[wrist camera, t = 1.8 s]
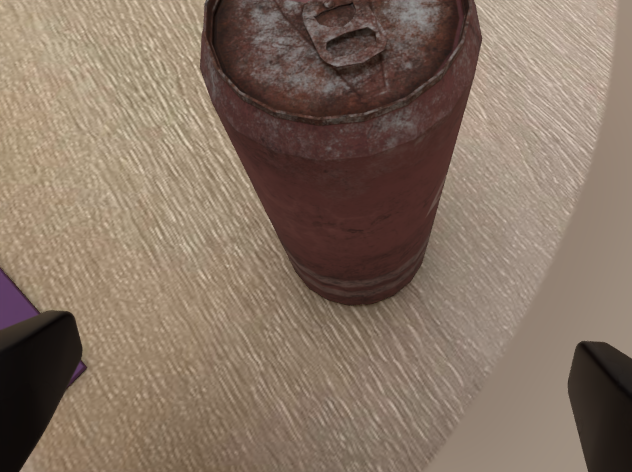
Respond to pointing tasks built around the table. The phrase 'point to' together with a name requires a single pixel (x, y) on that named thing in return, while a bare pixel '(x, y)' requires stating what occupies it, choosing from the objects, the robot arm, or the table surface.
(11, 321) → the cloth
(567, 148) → the table surface
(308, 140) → the can
